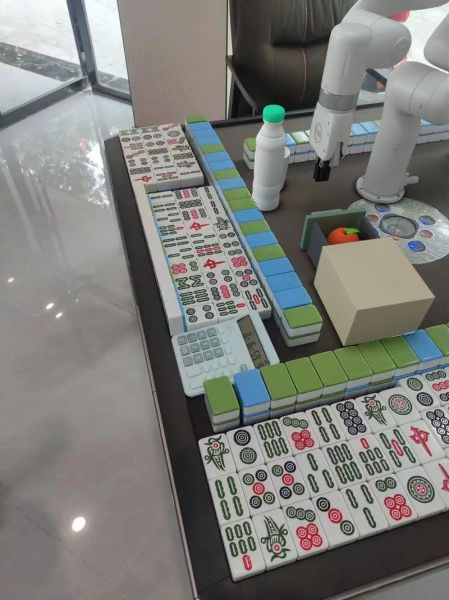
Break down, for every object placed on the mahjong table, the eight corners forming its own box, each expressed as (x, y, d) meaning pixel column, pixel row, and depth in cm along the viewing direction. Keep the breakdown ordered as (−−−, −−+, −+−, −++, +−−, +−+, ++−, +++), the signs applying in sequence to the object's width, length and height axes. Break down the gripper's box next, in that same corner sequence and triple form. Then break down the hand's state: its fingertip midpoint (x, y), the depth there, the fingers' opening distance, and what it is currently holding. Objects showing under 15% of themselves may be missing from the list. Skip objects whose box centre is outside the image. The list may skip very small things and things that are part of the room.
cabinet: (313, 283, 93) (322, 246, 85) (377, 274, 95) (391, 236, 87) (343, 346, 82) (357, 310, 74) (414, 334, 84) (435, 297, 76)
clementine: (348, 241, 99) (355, 216, 94) (365, 260, 95) (374, 235, 89) (317, 249, 97) (323, 224, 92) (334, 269, 93) (341, 244, 87)
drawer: (294, 234, 102) (299, 203, 95) (347, 227, 104) (356, 196, 97) (324, 295, 89) (332, 264, 83) (384, 285, 91) (397, 254, 85)
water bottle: (276, 214, 109) (289, 117, 90) (249, 210, 110) (255, 113, 91) (280, 198, 113) (292, 102, 95) (253, 194, 114) (260, 99, 95)
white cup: (255, 177, 120) (257, 144, 112) (283, 176, 120) (287, 142, 113) (258, 194, 114) (261, 160, 107) (288, 192, 115) (293, 159, 107)
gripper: (307, 83, 89) (294, 164, 102) (334, 116, 79) (316, 200, 93) (341, 81, 90) (324, 161, 103) (372, 113, 80) (348, 196, 94)
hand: (320, 179), depth 98 cm, fingers closed
